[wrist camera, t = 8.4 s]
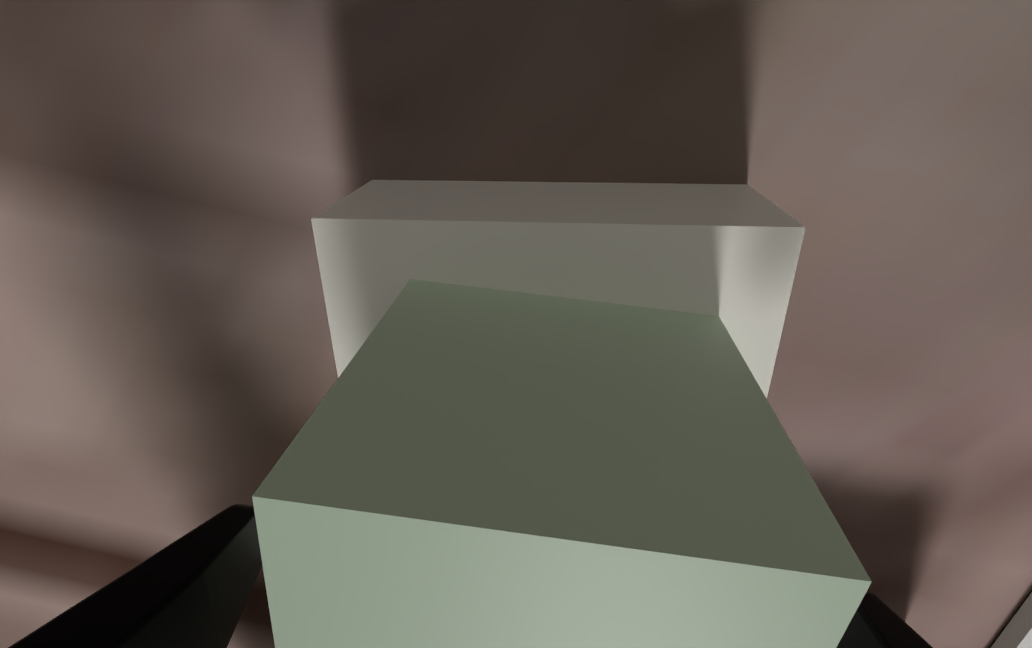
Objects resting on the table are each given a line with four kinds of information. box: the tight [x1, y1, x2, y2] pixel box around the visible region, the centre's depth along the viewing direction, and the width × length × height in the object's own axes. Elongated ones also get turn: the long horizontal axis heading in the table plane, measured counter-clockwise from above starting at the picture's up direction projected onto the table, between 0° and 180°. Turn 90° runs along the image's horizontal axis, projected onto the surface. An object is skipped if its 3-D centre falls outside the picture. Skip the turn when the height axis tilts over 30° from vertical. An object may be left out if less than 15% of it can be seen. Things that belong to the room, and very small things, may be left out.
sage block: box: [252, 279, 872, 648], centre depth 9 cm, size 6×6×6 cm
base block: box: [311, 180, 806, 399], centre depth 14 cm, size 9×9×4 cm
